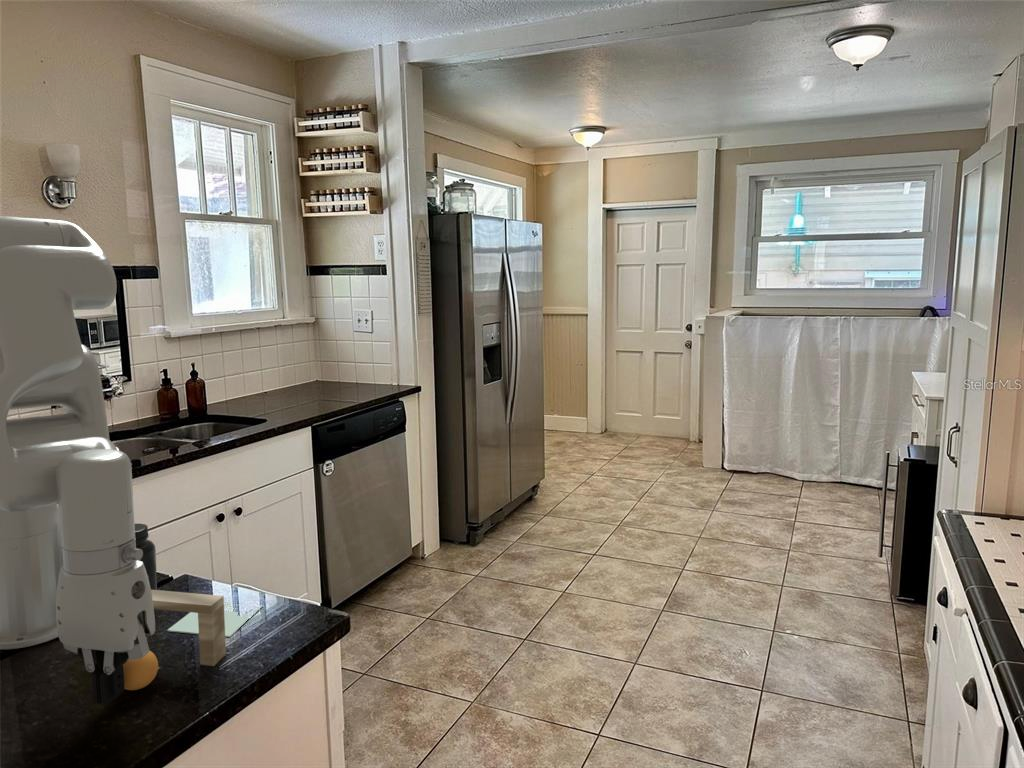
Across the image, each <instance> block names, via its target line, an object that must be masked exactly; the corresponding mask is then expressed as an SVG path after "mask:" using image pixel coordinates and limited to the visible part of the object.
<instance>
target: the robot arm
mask: <svg viewBox="0 0 1024 768" xmlns="http://www.w3.org/2000/svg"><path fill="white" fill-rule="evenodd" d="M117 290H118V289H117V277H116V274H115V270H114V267H113V265H112V263H111V261H110V260H109V257H108V255H107V254H106V253H105V252H104V250H103V249H102V248H101V247H100V245H99V244H98V243H96V242H95V241H94V240H93V239H92V238H91V237H90V235H88V234H87V232H85V231H84V230H83V229H82V227H80V226H78V225H77V224H75V223H72V222H69V221H66V220H59V219H47V218H45V219H44V218H34V217H32V218H31V217H21V216H19V217H18V216H11V215H10V216H9V215H0V650H15V649H23V648H27V647H33V646H37V645H39V644H43V643H46V642H49V641H52V640H55V639H56V638H59V641H60V642H61V643H62V645H63V648H64V649H65V650H66V651H69V652H70V653H71V652H72V653H74V654H78V655H79V657H80V658H81V659H82V660H83V661H84V665H85V669H86V671H87V672H89V673H91V681H92V696H93V703H94V704H98V705H99V704H102V705H106V706H108V705H109V704H110V703H111V702H114V700H115V699H116V698H118V697H119V696H120V695H121V694H123V693H124V691H125V689H124V671H123V664H125V663H126V662H127V661H128V660H135V659H141V658H143V657H144V656H145V655H146V654H148V653H149V650H150V646H149V644H148V639H147V640H146V637H147V638H149V637H152V636H153V635H154V634H155V632H156V620H155V619H156V618H155V609H154V607H153V600H152V593H151V588H150V584H149V579H148V576H147V572H146V569H145V567H144V564H143V562H142V561H138V560H140V559H141V558H142V556H143V551H142V549H137V548H136V538H135V524H136V523H135V509H134V494H133V493H134V492H133V489H134V488H133V473H132V472H133V471H132V462H131V460H130V457H129V456H128V455H127V453H125V452H123V451H121V450H120V448H119V447H117V446H116V445H115V444H114V443H113V442H112V441H111V440H110V432H109V425H108V420H107V419H108V418H107V411H106V404H105V398H104V397H105V396H104V389H103V384H102V383H103V382H102V378H101V373H100V367H99V364H98V362H97V359H96V357H95V355H94V354H93V352H92V351H91V349H90V348H89V347H87V346H86V345H85V344H83V343H82V341H81V337H80V334H79V329H78V324H77V322H76V316H75V313H74V311H77V310H78V311H81V310H88V311H89V310H104V309H107V308H109V307H110V306H111V305H112V304H113V302H114V301H115V298H116V295H117V292H118V291H117ZM53 406H61V407H62V408H63V409H64V410H65V413H60V414H59V413H58V414H51V415H44V416H38V415H37V416H31V417H21V418H12V419H8V414H9V412H10V411H12V410H14V411H15V410H23V409H32V408H41V407H42V408H43V407H44V408H45V407H53Z"/></svg>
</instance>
